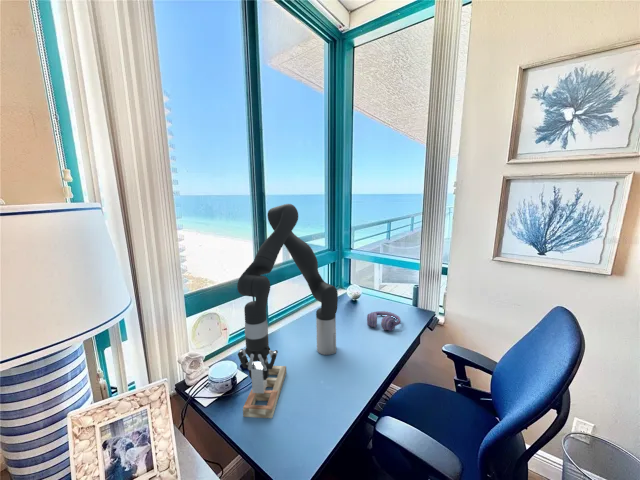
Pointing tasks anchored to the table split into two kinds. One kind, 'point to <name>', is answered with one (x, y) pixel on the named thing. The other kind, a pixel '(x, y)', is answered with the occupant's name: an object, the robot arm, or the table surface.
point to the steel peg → (258, 378)
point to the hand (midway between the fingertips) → (259, 377)
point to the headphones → (383, 320)
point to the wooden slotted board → (266, 396)
